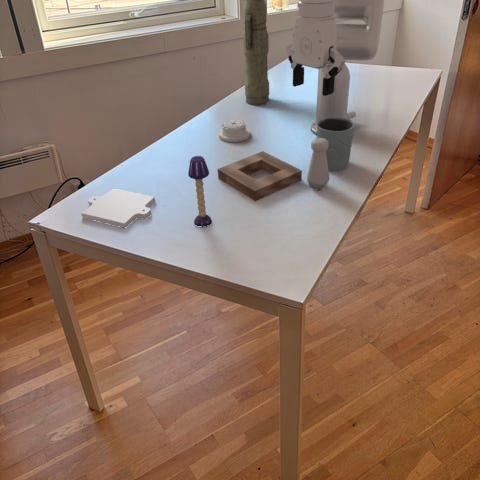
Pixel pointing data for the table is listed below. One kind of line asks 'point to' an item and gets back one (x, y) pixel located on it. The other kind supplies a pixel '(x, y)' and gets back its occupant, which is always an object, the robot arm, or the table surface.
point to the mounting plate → (119, 207)
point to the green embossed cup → (337, 140)
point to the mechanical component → (234, 131)
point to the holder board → (261, 188)
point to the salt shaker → (318, 164)
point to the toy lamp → (199, 188)
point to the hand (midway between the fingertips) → (312, 89)
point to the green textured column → (256, 52)
